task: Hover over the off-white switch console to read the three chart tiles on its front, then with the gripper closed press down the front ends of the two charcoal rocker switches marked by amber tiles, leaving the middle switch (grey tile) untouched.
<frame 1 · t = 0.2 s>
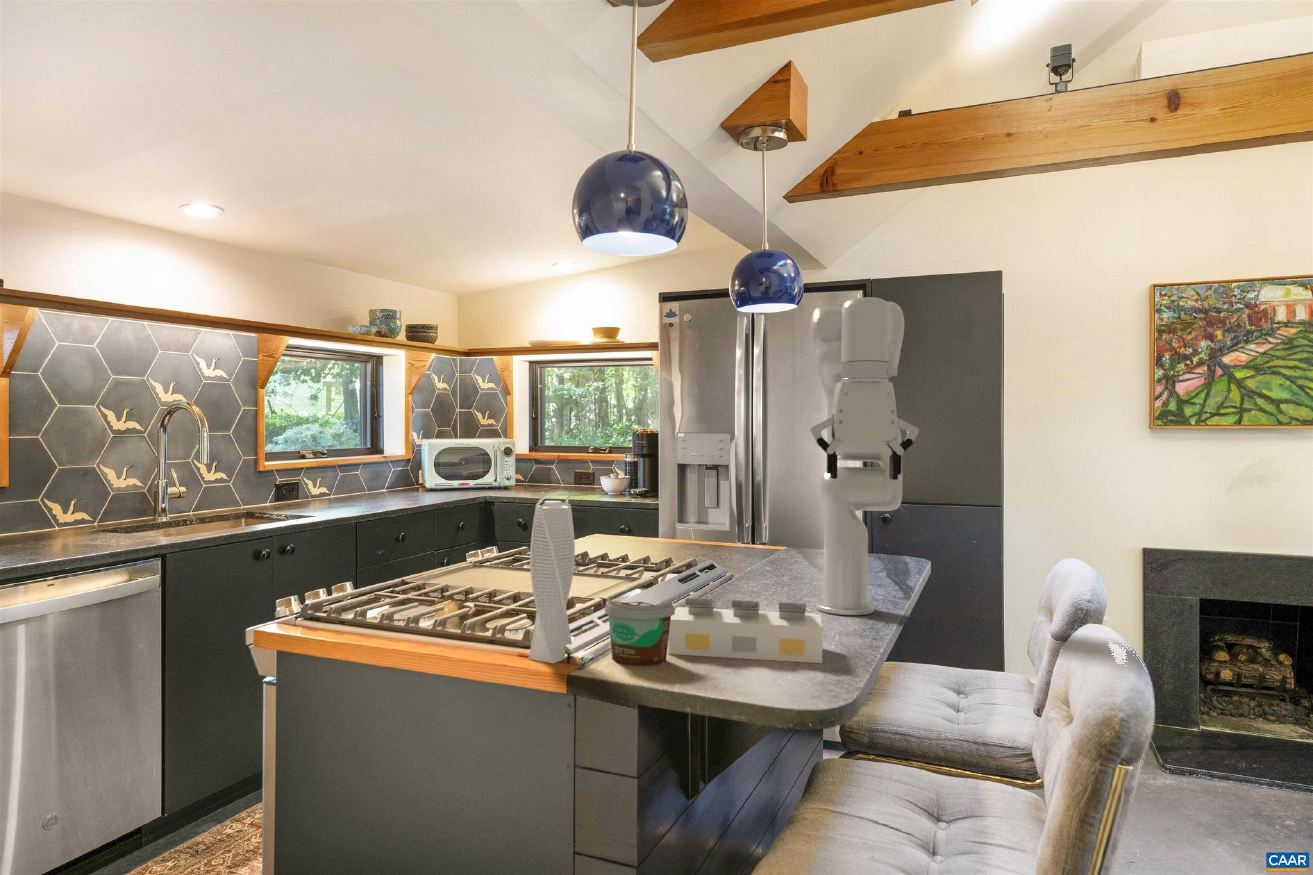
hand: (863, 478, 124), 31 cm above the worktop, tool pointing down, fingers open, 9 cm apart
switch b: (746, 605, 133), point 8 cm above the worktop, hinge at -14.0°
food container: (633, 663, 125), on the worktop
switch a: (792, 607, 132), point 8 cm above the worktop, hinge at -14.0°
console: (745, 650, 133), on the worktop
switch c: (701, 603, 135), point 8 cm above the worktop, hinge at -14.0°
skyscraper: (552, 658, 128), on the worktop
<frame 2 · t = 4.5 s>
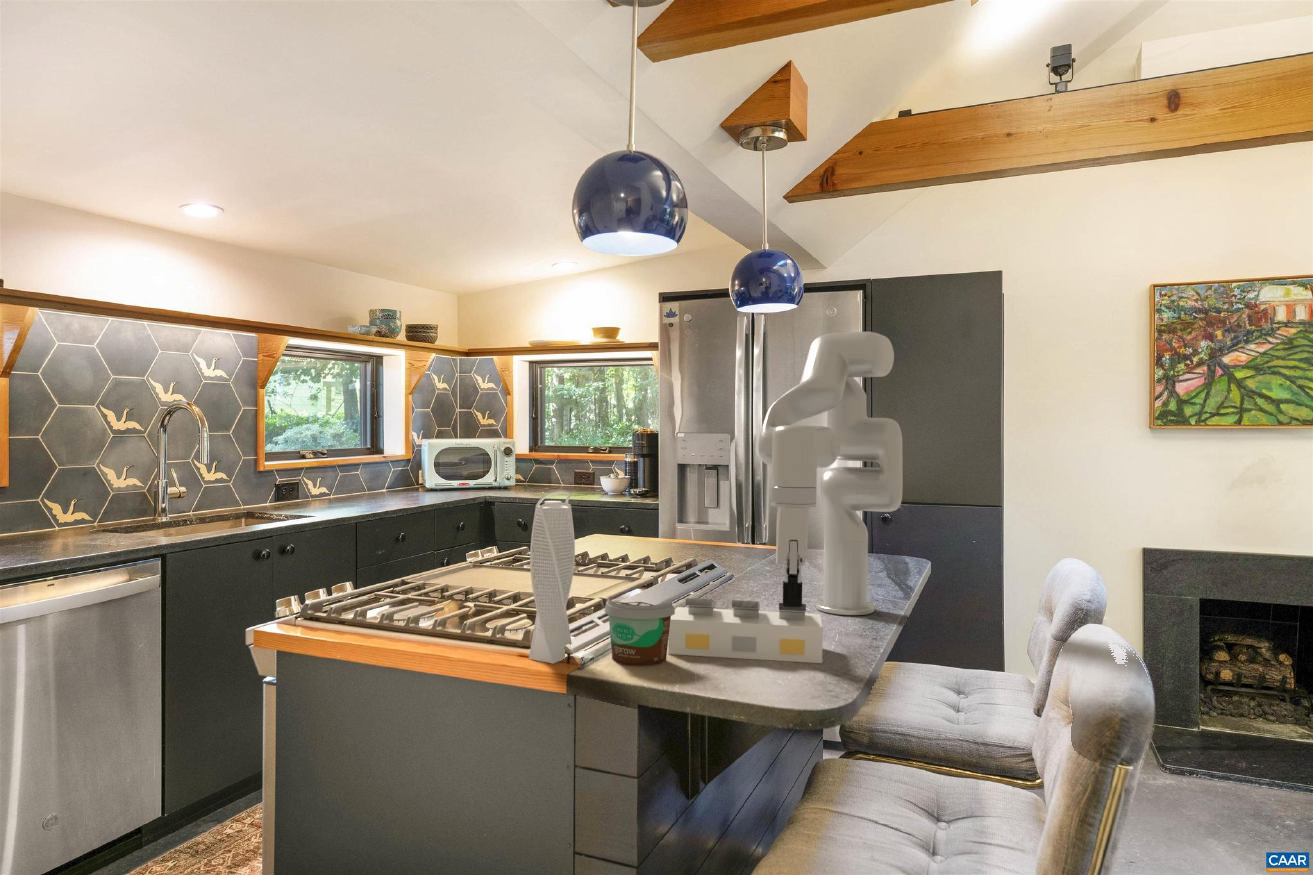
hand: (792, 605, 128), 9 cm above the worktop, tool pointing down, fingers closed
switch a: (792, 607, 132), point 8 cm above the worktop, hinge at -12.9°, touching gripper
everything else where it was.
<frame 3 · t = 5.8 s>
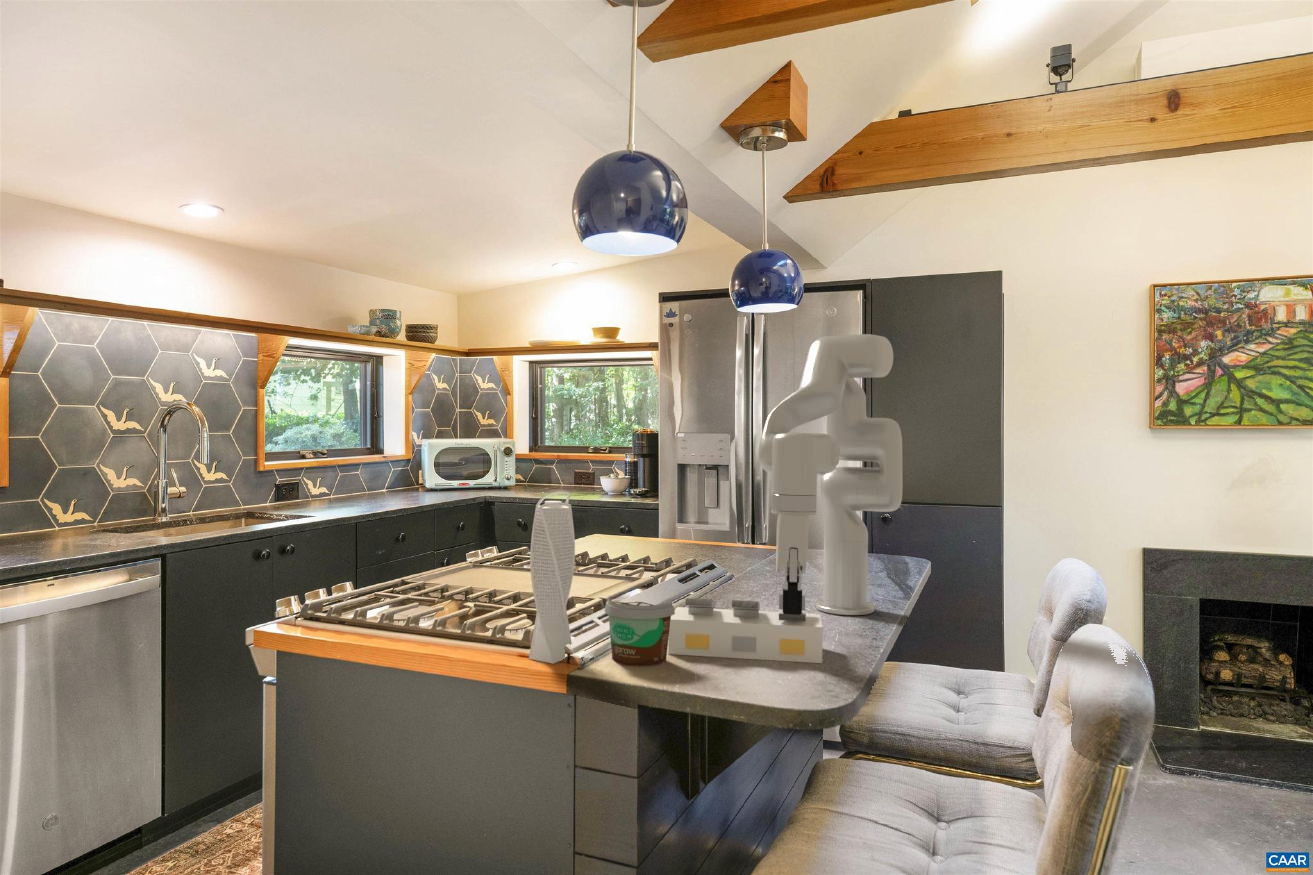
hand: (792, 613, 128), 8 cm above the worktop, tool pointing down, fingers closed
switch a: (792, 607, 132), point 8 cm above the worktop, hinge at 12.4°, touching gripper
everything else where it was.
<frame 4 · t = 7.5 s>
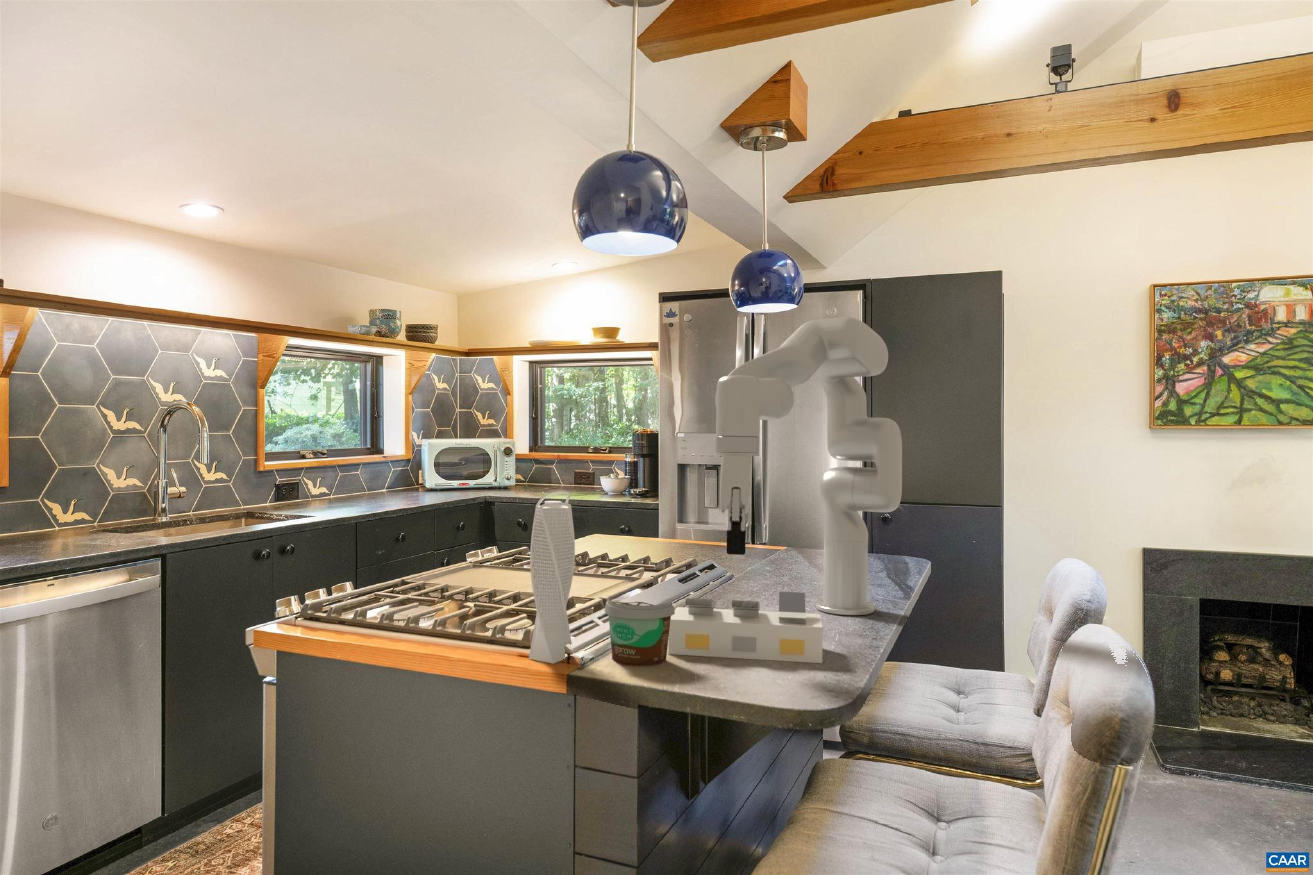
hand: (735, 553, 130), 18 cm above the worktop, tool pointing down, fingers closed
switch a: (792, 607, 132), point 8 cm above the worktop, hinge at 21.2°, touching console
everything else where it was.
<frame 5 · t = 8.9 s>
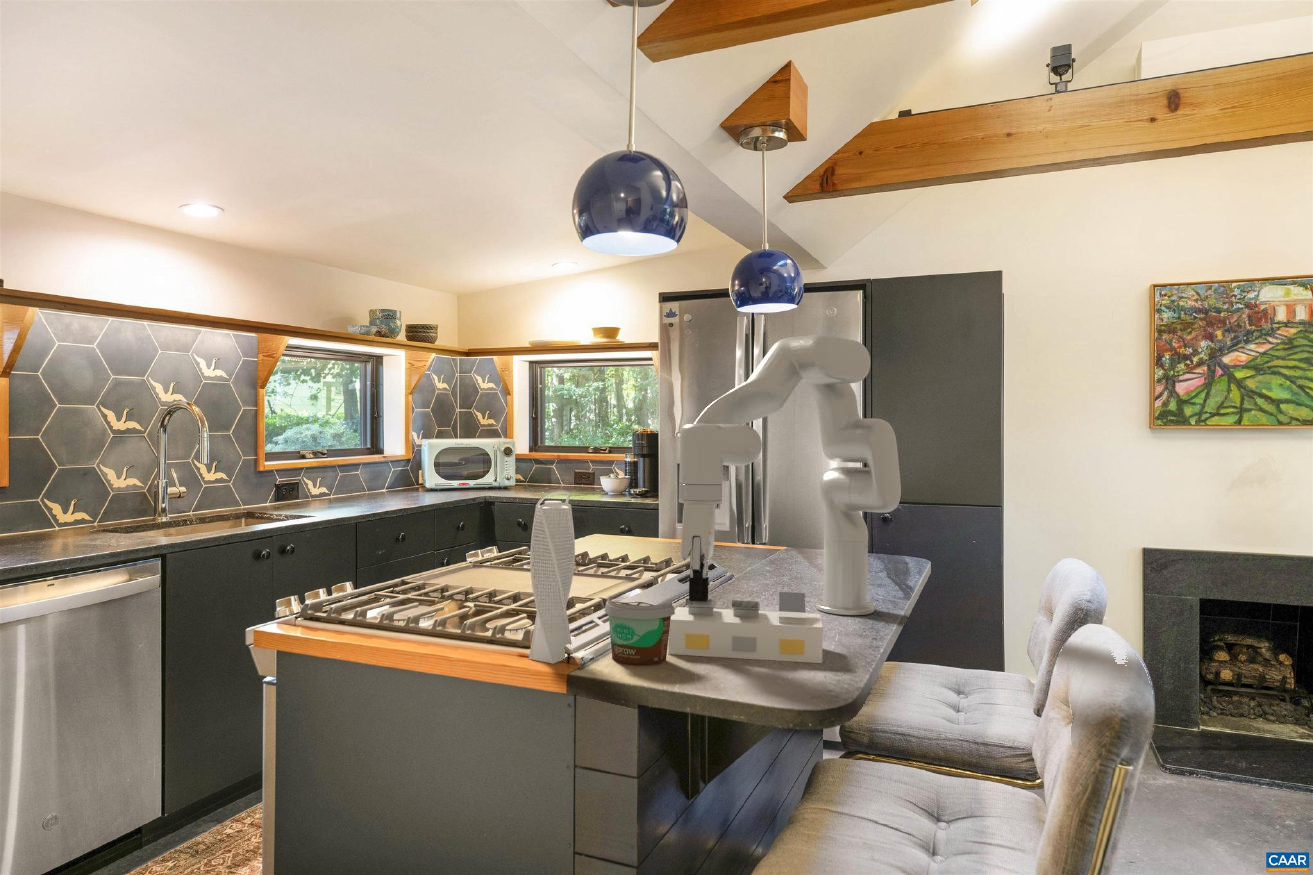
hand: (698, 600, 131), 9 cm above the worktop, tool pointing down, fingers closed
switch a: (792, 607, 132), point 8 cm above the worktop, hinge at 20.3°, touching console
switch c: (701, 603, 135), point 8 cm above the worktop, hinge at -13.3°, touching gripper
everything else where it was.
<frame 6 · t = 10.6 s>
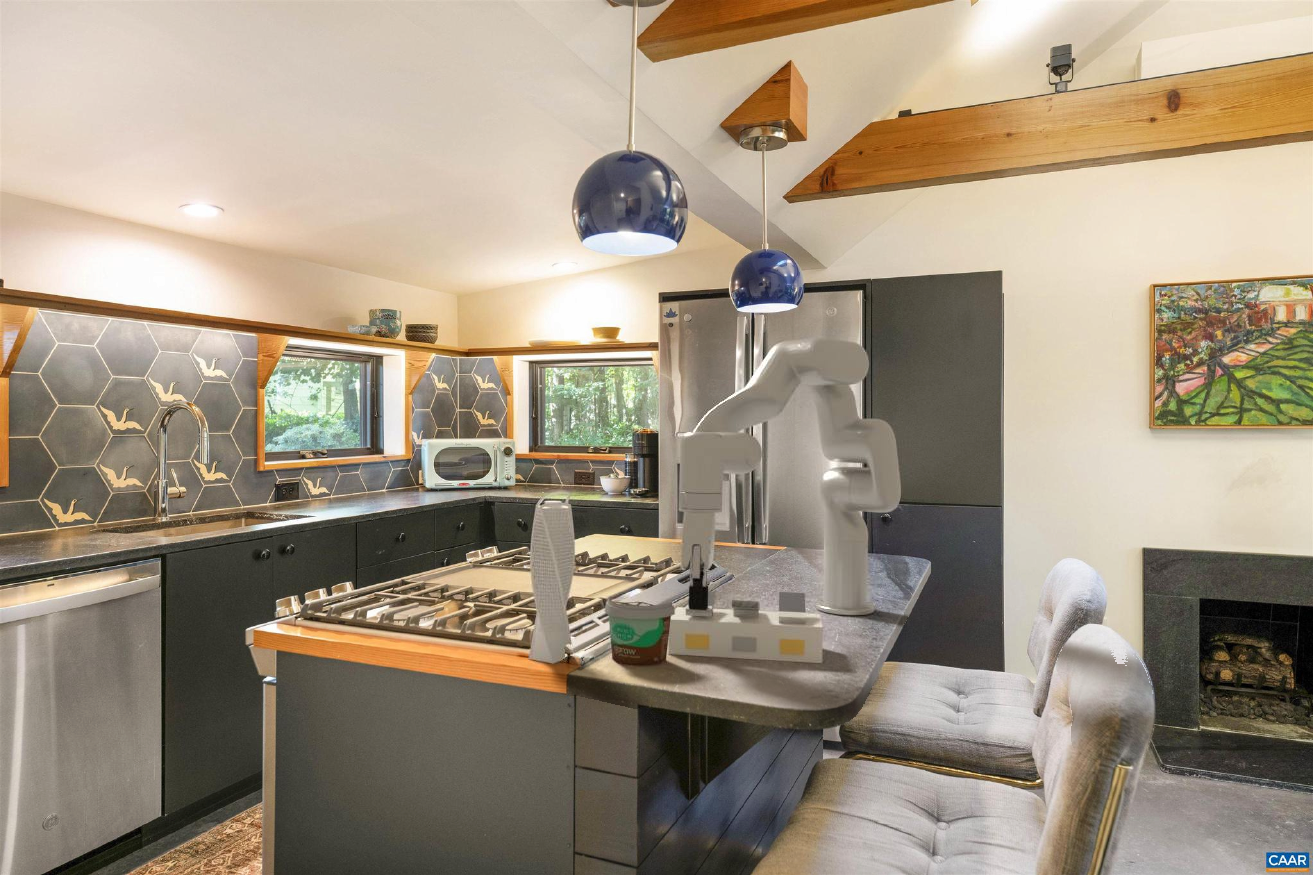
hand: (698, 608, 131), 8 cm above the worktop, tool pointing down, fingers closed
switch a: (792, 607, 132), point 8 cm above the worktop, hinge at 20.1°
switch c: (701, 603, 135), point 8 cm above the worktop, hinge at 11.9°, touching gripper
everything else where it was.
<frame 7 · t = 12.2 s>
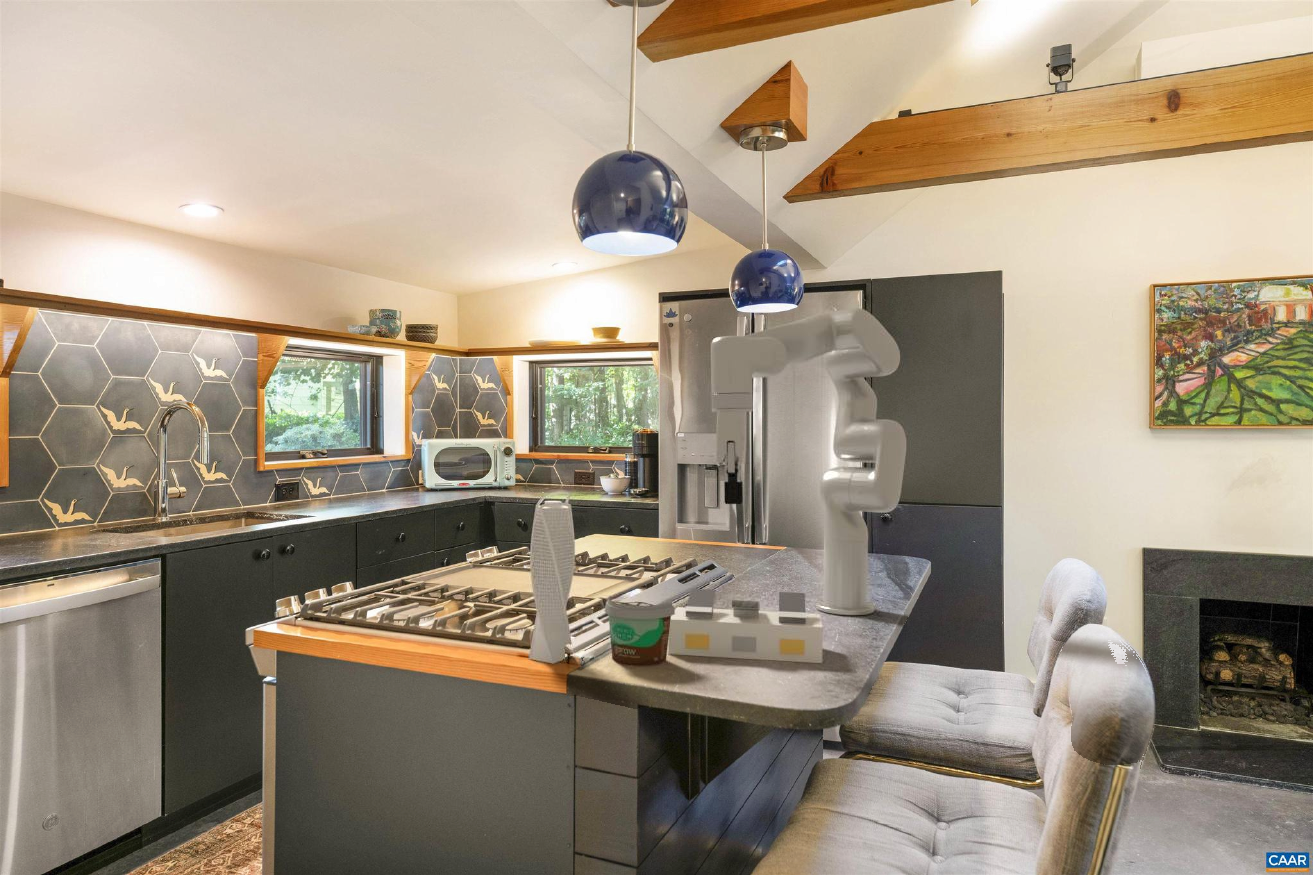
hand: (733, 503, 139), 26 cm above the worktop, tool pointing down, fingers closed
switch c: (701, 603, 135), point 8 cm above the worktop, hinge at 17.9°
everything else where it was.
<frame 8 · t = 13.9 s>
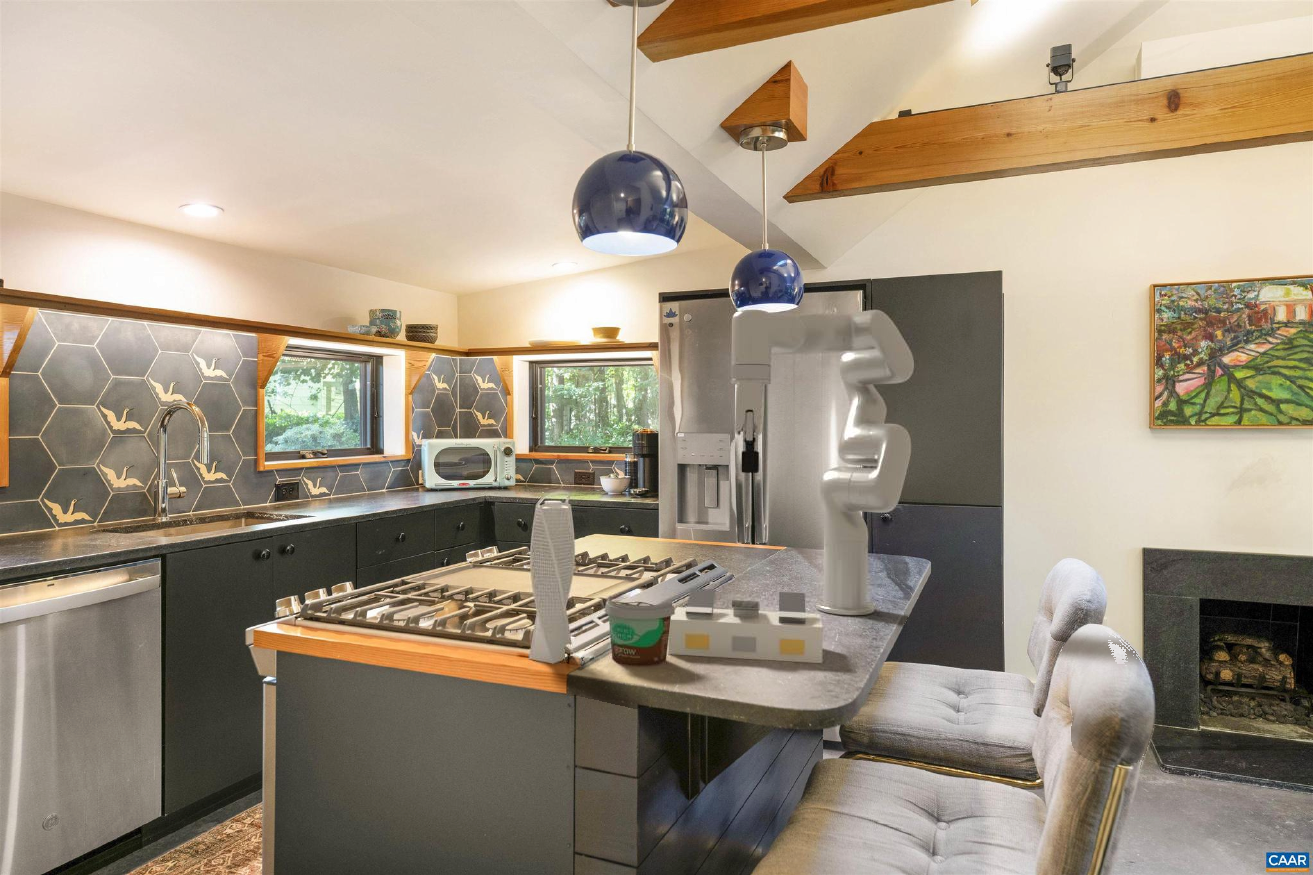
hand: (750, 472, 143), 31 cm above the worktop, tool pointing down, fingers closed
switch c: (701, 603, 135), point 8 cm above the worktop, hinge at 19.1°
everything else where it was.
at the end: switch a at +20° (first picture: -14°); switch c at +19° (first picture: -14°); switch b at -14° (first picture: -14°) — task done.
